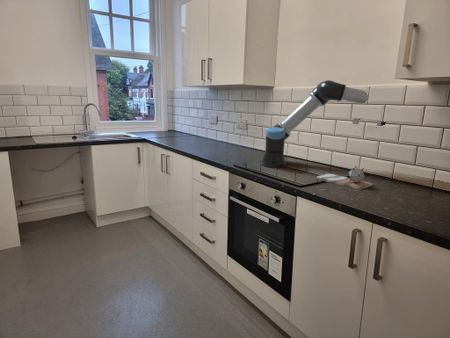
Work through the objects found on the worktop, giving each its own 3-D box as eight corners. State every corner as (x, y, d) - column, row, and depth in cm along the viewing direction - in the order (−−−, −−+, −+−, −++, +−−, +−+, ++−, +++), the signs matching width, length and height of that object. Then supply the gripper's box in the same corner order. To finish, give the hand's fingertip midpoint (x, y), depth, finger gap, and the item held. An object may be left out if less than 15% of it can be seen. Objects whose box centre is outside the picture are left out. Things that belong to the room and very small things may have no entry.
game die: (351, 188, 157) (350, 170, 161) (369, 185, 151) (367, 167, 155) (345, 182, 151) (343, 164, 155) (363, 179, 145) (361, 160, 149)
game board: (315, 178, 164) (315, 176, 163) (327, 175, 172) (328, 173, 172) (360, 189, 146) (360, 187, 145) (372, 185, 154) (372, 183, 154)
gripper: (402, 129, 173) (387, 131, 160) (360, 125, 191) (343, 127, 178) (405, 116, 171) (389, 117, 158) (361, 113, 190) (344, 114, 176)
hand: (365, 122), depth 168 cm, fingers open, 13 cm apart
